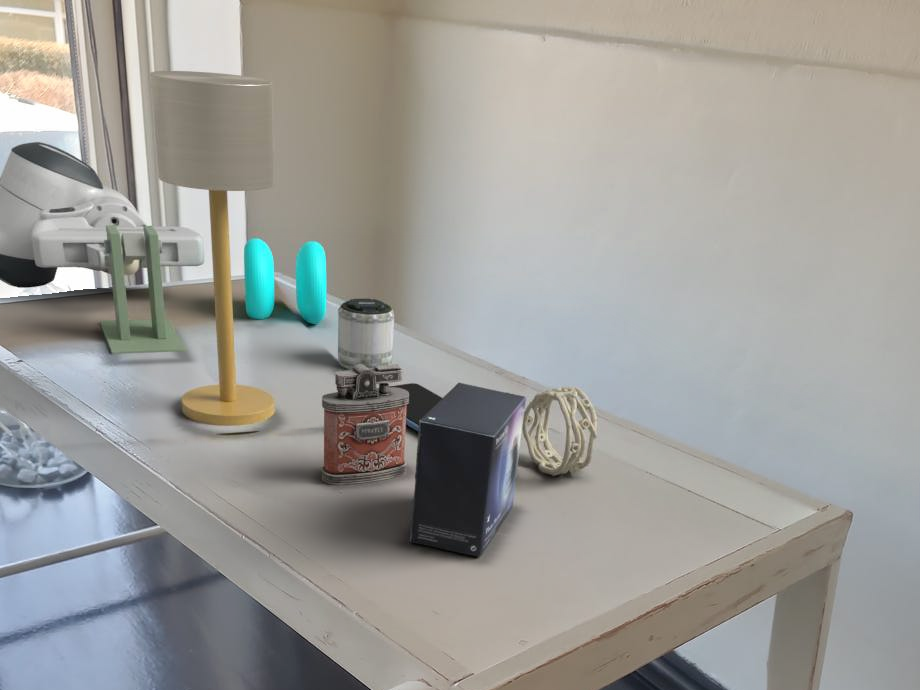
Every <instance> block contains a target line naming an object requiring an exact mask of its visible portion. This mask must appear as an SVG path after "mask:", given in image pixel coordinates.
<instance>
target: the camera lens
mask: <svg viewBox="0 0 920 690" xmlns="http://www.w3.org/2000/svg"><path fill="white" fill-rule="evenodd" d="M337 316H338V317H337V358H338V364H339V366H341V368H342V369H343V371H350V370H352V369H353V367H354V366H355V365H357V364H362V365H364V366H366V367H367V368H368V369H372V368H375V366H384V365H392V364H393V363H392V362H393V355H394V353H393V352H394V351H393V350H394V332H395V331H394V329H395V311H394V310H393V308H392V307H391V306H390V305H389V304H387V303H385V302H383V301H381V300H379V299H376V298H350V299H349V300H346V301H344V302H342V303H341V304H340V306H339V307H338V309H337Z"/></svg>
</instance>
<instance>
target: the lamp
mask: <svg viewBox="0 0 920 690" xmlns="http://www.w3.org/2000/svg"><path fill="white" fill-rule="evenodd" d="M149 76H150V77H149V79H150V89H151V102H152V103H151V104H152V114H153V115H152V117H153V128H154V129H153V130H154V141H155V154H156V165H157V177H158V180H160V181H161V182H163V183H165V184H170V185H173V186H177V187H182V188H189V189H195V190H205V191H208V204H209V205H208V206H209V222H210V223H209V225H210V240H211V242H210V243H211V258H212V276H213V277H212V278H213V292H214V295H213V296H214V311H215V313H214V315H215V329H216V333H215V334H216V348H217V349H216V350H217V351H216V352H217V366H218V367H217V369H218V382H219V383H218V384H210V385H203V386H199V387H195V388H193V389H190V390H188V391H186V392H185V393H184V394H183V395H182V396H181V398H180V401H181V412H182V413H183V414H184V416H185V417H187V418H189V419H190V420H192V421H195V422H198V423H202V424H207V425H214V426H224V427H227V426H229V427H230V426H231V427H234V426H247V425H253V424H256V423H260V422H265V421H266V420H268V419H269V418H271V417H272V416H273V415H274V414H275V412H276V400H275V397H274V396H273V395H272V394H271V393H269V392H268V391H266V390H264V389H261V388H257V387H254V386H249V385H245V384H244V385H243V384H237V376H236V374H237V373H236V354H235V353H236V352H235V335H234V334H235V331H234V311H233V308H234V307H233V289H232V268H231V267H232V266H231V265H232V264H231V246H230V245H231V244H230V243H231V242H230V224H229V222H230V221H229V201H228V200H229V199H228V192H248V191H260V190H267V189H270V188H272V187H274V186H275V185H276V172H275V169H276V168H275V162H276V161H275V125H274V123H275V122H274V121H275V120H274V119H275V117H274V83H273V81H271V80H268V79H266V78H265V79H264V78H259V77H253V76H246V75H239V74H230V73H218V72H209V71H207V72H205V71H191V70H157V71H156V70H155V71H151V72H150V73H149ZM258 432H259V430H251V431H239V432H238V431H237V432H224V433H223V432H222V433H221V432H220V433H217V436H220V435H221V436H242V435H249V434H255V433H258Z"/></svg>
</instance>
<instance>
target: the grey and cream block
mask: <svg viewBox="0 0 920 690" xmlns="http://www.w3.org/2000/svg"><path fill="white" fill-rule="evenodd" d="M121 244H122V247H121V250H122V260H123V270H124V276H132V275H134V274H136V273H137V272H138V271H139V269H140V268H139V267H140V260H144V259H145V257H146V250H145V242H144V234H143V233H123V234H122V236H121Z"/></svg>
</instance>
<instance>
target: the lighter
mask: <svg viewBox="0 0 920 690" xmlns="http://www.w3.org/2000/svg"><path fill="white" fill-rule="evenodd" d="M334 374H335V375H334V376H335V379H334V381H335V385H336V391H335V392H330V393H326V394H324V395H322V397H321V407H322V409H323V466H322V468H321V479H322V481H323V482H325V483H327V484H329V485H340V486H341V485H355V484H363V483H372V482H373V483H374V482H377V481H378V482H379V481H383V480H388V479H392V478H396V477H400V476H404V475H405V474H406V465H407V464H406V463H407V461H406V460H405V449H406V448H405V446H406V445H405V444H406V426H407V425H406V407H407V404H408V403H409V392H408V391H406V390H405V389H401V388H396V387H389V386H390V384H389V383H398V382H402V381H403V368H402V367H401V365H399V364H391V365H384V366H375V368H372V369H368V368H367V367H366V366H364V365H362V364H357V365H355V366H354V367H353V369H352V370H350V371H345V370H341V371H335V373H334ZM377 384H378V387H377Z"/></svg>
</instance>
